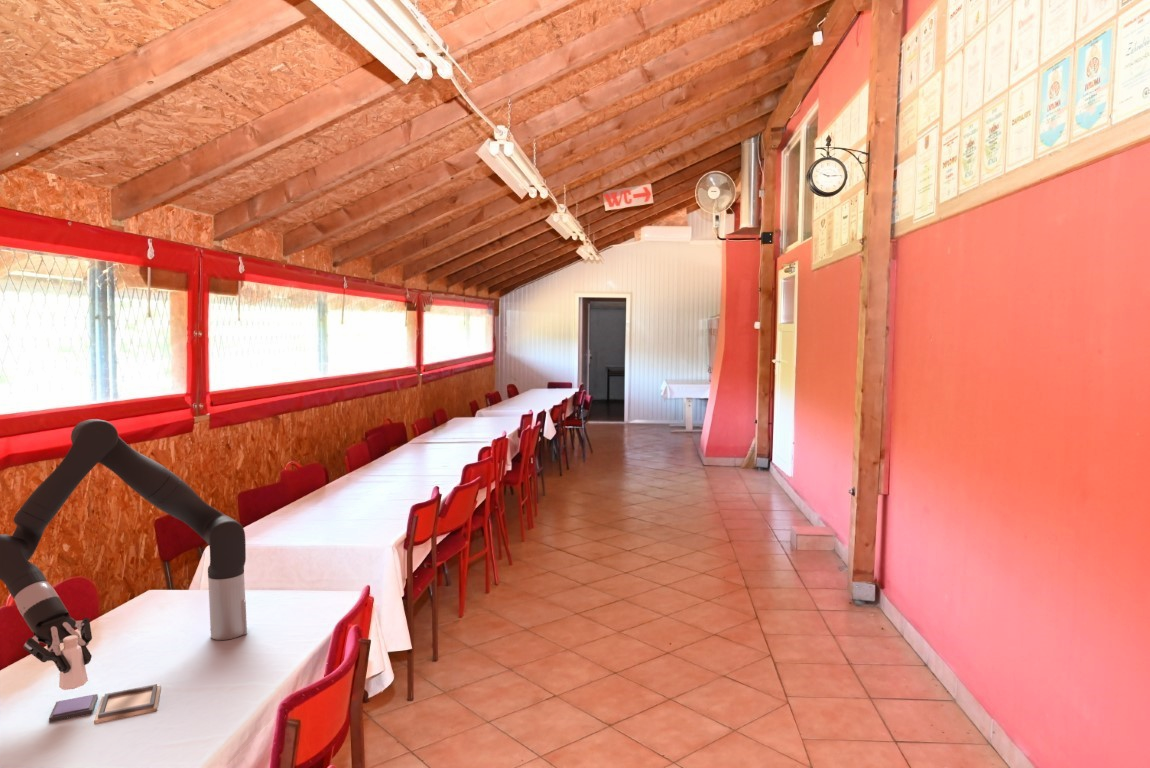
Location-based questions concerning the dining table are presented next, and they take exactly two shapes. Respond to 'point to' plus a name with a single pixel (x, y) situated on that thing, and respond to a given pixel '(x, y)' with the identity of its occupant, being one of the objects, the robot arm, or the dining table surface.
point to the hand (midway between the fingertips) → (78, 666)
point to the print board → (128, 703)
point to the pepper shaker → (73, 665)
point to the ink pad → (73, 708)
